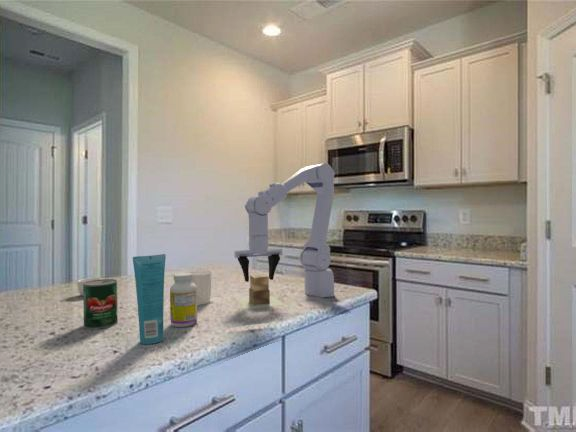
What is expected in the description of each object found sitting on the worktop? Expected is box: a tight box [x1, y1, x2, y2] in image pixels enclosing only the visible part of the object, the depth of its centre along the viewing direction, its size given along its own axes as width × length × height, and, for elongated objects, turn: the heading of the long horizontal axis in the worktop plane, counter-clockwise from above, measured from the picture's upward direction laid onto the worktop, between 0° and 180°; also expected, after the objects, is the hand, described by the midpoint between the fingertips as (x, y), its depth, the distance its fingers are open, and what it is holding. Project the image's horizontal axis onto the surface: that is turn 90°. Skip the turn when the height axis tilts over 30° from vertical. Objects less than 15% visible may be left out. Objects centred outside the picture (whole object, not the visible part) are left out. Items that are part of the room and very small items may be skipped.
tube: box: [132, 253, 167, 345], centre depth 83 cm, size 7×5×19 cm, turn 140°
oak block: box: [249, 273, 270, 291], centre depth 113 cm, size 4×4×4 cm
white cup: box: [186, 270, 213, 306], centre depth 114 cm, size 8×8×10 cm
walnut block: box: [248, 287, 271, 305], centre depth 113 cm, size 5×5×4 cm
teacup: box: [77, 277, 103, 297], centre depth 131 cm, size 10×8×5 cm
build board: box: [235, 295, 285, 310], centre depth 113 cm, size 12×12×1 cm
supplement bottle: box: [169, 272, 198, 328], centre depth 95 cm, size 7×7×13 cm
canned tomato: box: [82, 278, 119, 330], centre depth 96 cm, size 8×8×11 cm
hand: (259, 280), depth 113 cm, fingers open, 7 cm apart
